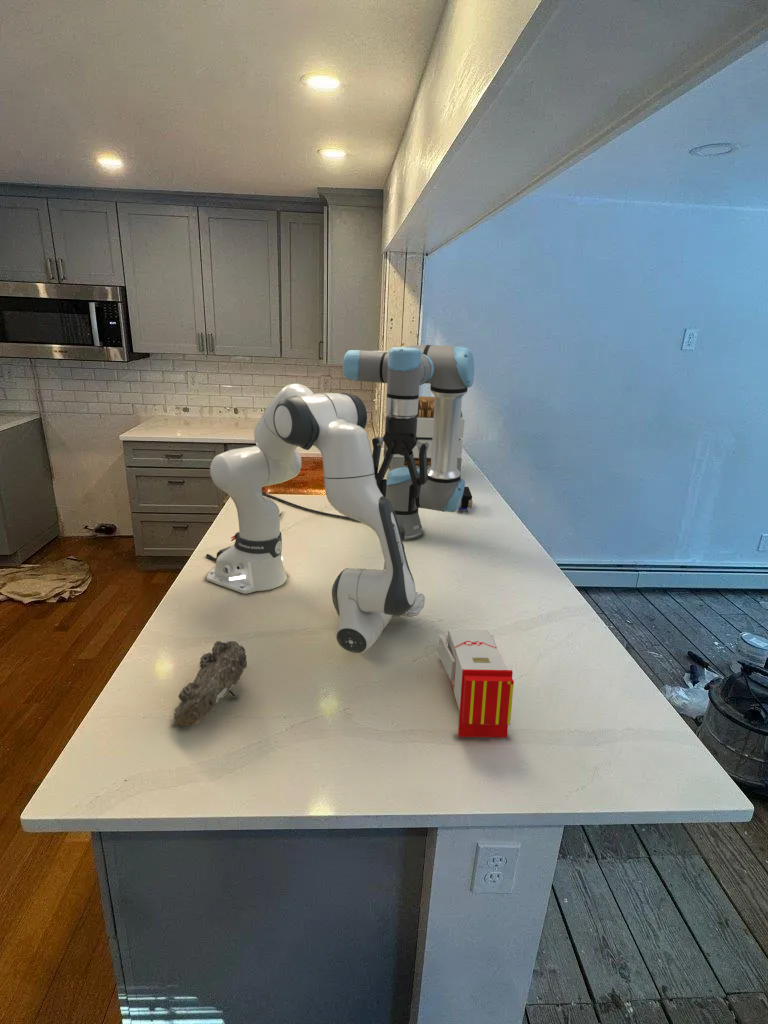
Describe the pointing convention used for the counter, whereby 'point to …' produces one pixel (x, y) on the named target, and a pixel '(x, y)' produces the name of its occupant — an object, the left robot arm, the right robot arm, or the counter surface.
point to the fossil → (211, 682)
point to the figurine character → (466, 500)
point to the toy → (478, 682)
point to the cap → (402, 533)
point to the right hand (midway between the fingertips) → (396, 507)
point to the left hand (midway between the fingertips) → (393, 584)
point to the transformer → (425, 435)
